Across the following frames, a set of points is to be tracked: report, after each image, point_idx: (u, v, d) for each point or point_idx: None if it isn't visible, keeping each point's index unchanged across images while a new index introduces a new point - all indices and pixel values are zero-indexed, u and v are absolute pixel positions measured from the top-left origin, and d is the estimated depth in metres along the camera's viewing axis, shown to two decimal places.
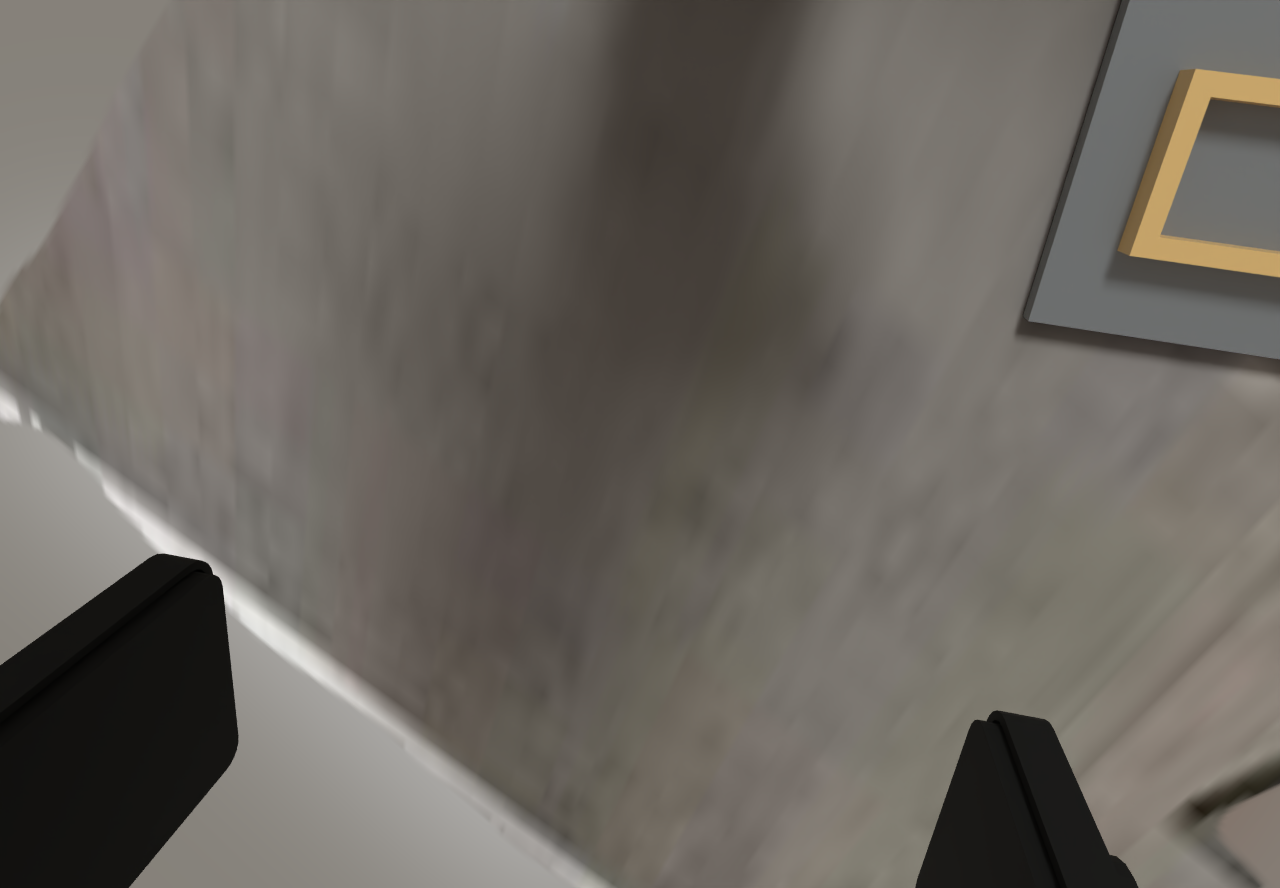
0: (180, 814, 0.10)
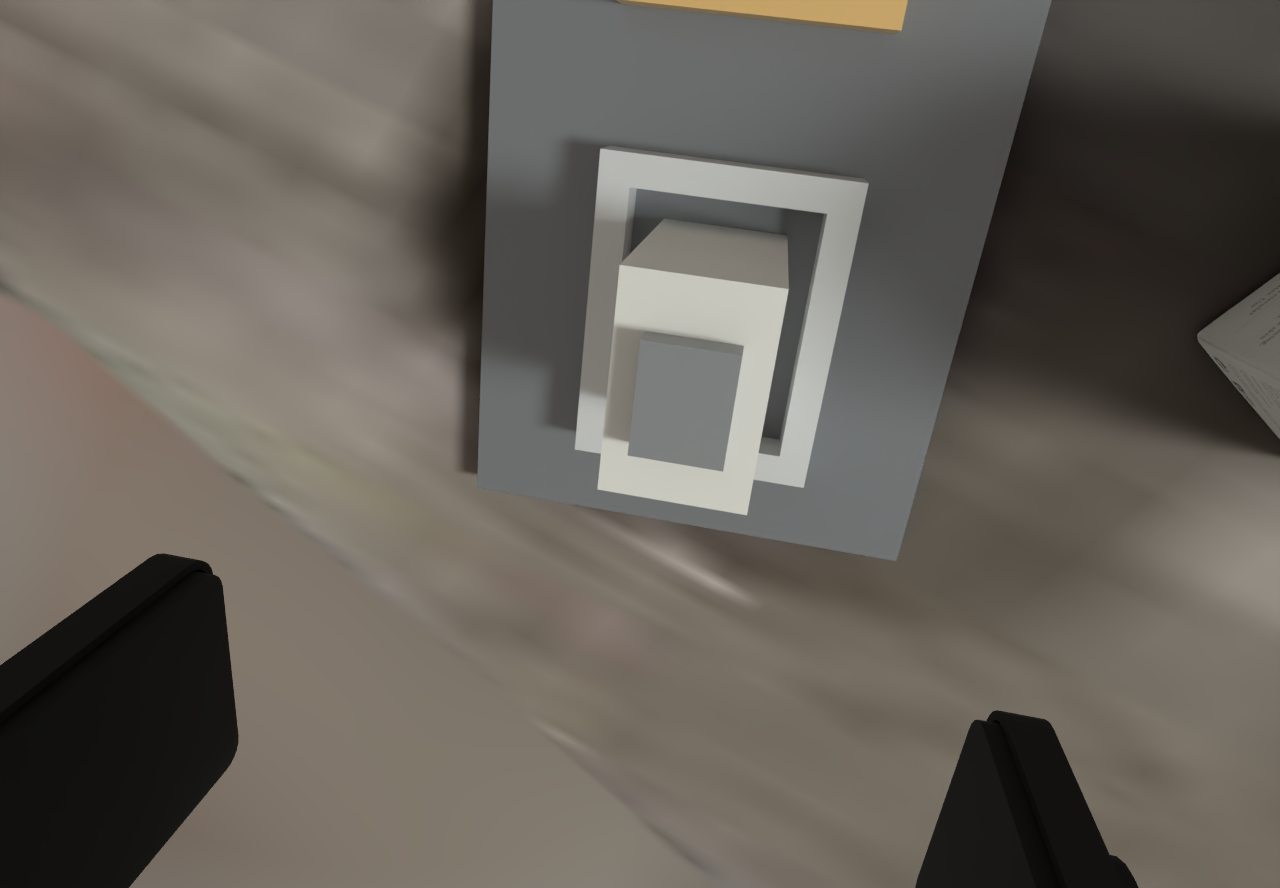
0: (180, 814, 0.10)
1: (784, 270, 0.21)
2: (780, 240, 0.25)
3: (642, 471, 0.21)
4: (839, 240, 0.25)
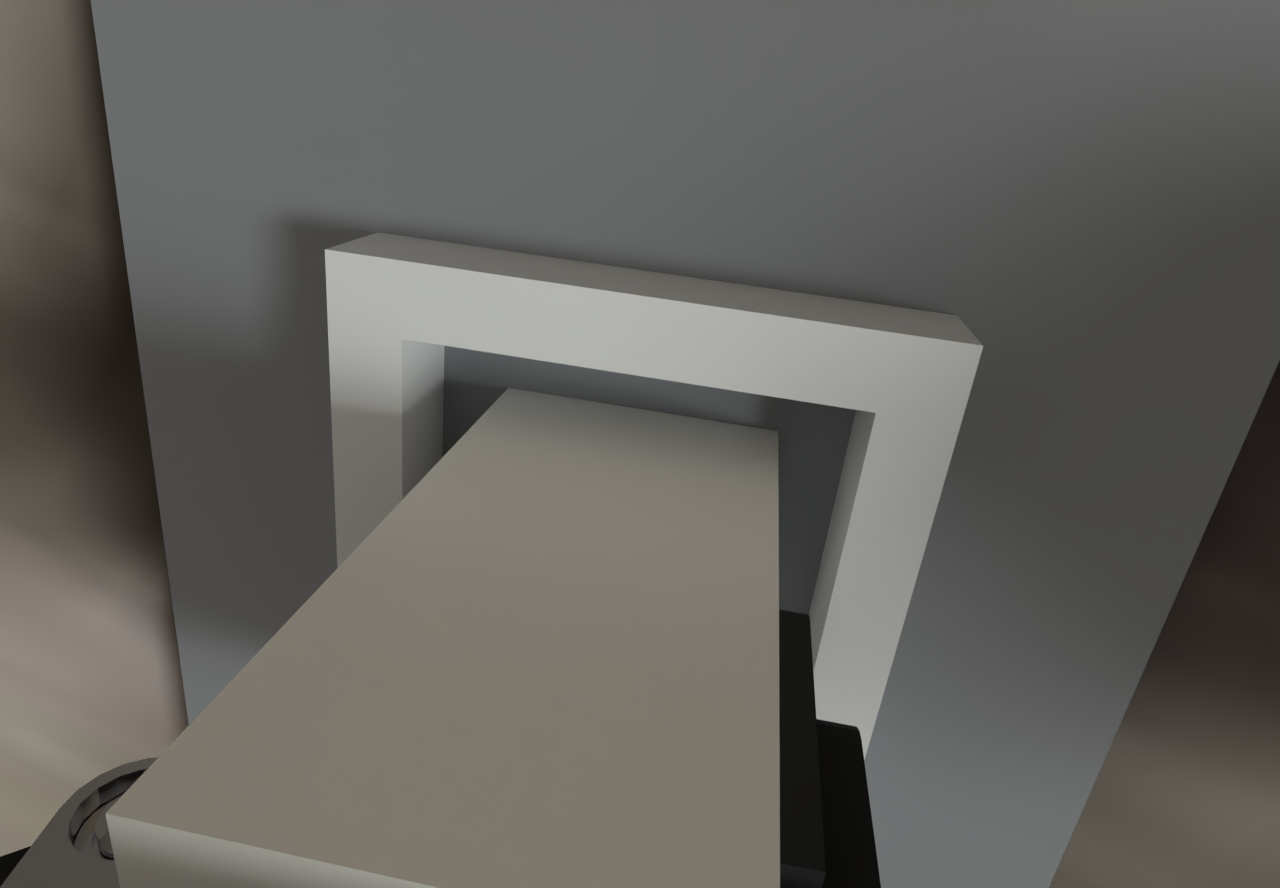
0: None
1: (766, 700, 0.06)
2: (761, 462, 0.11)
3: None
4: (904, 473, 0.10)
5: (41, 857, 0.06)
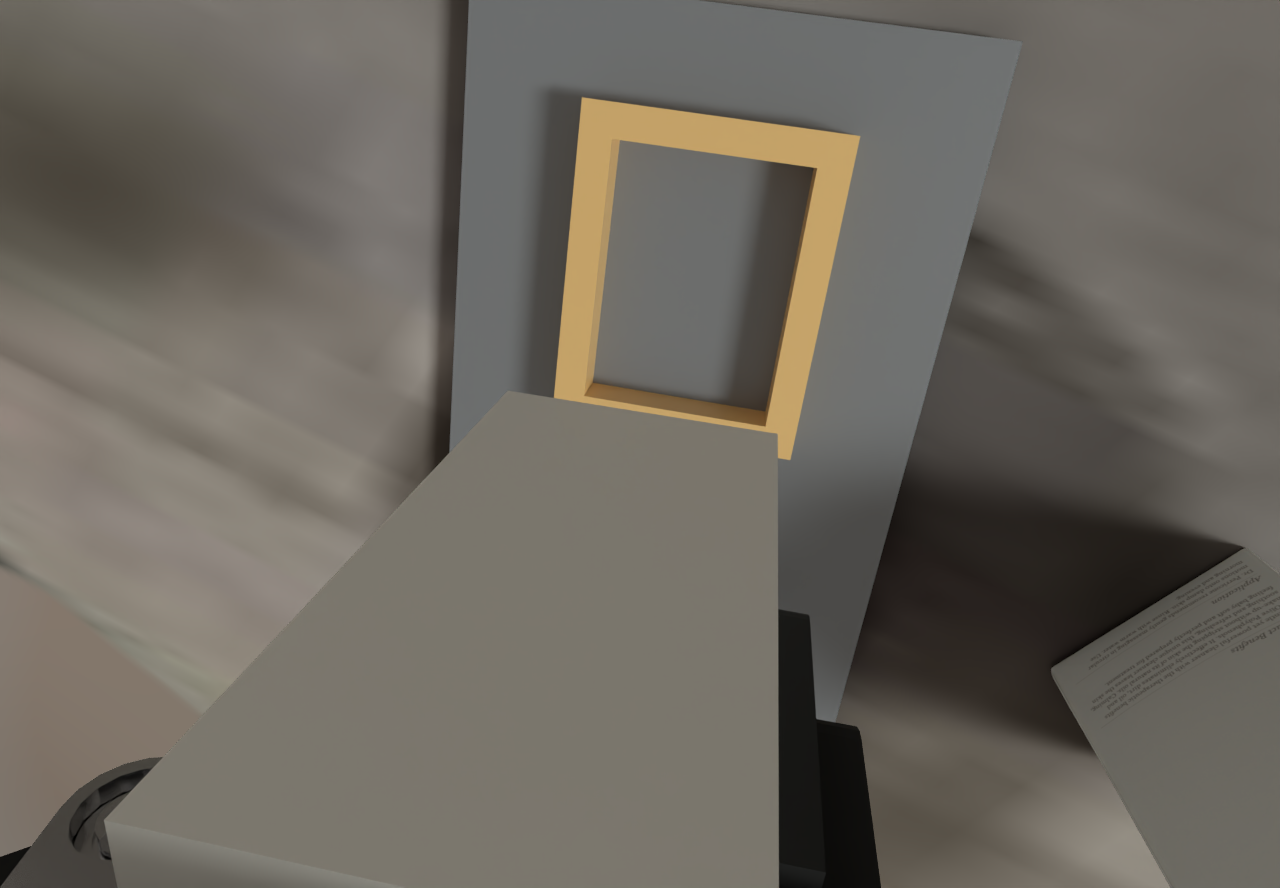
0: None
1: (765, 705, 0.06)
2: (761, 465, 0.11)
3: None
4: None
5: (41, 857, 0.06)
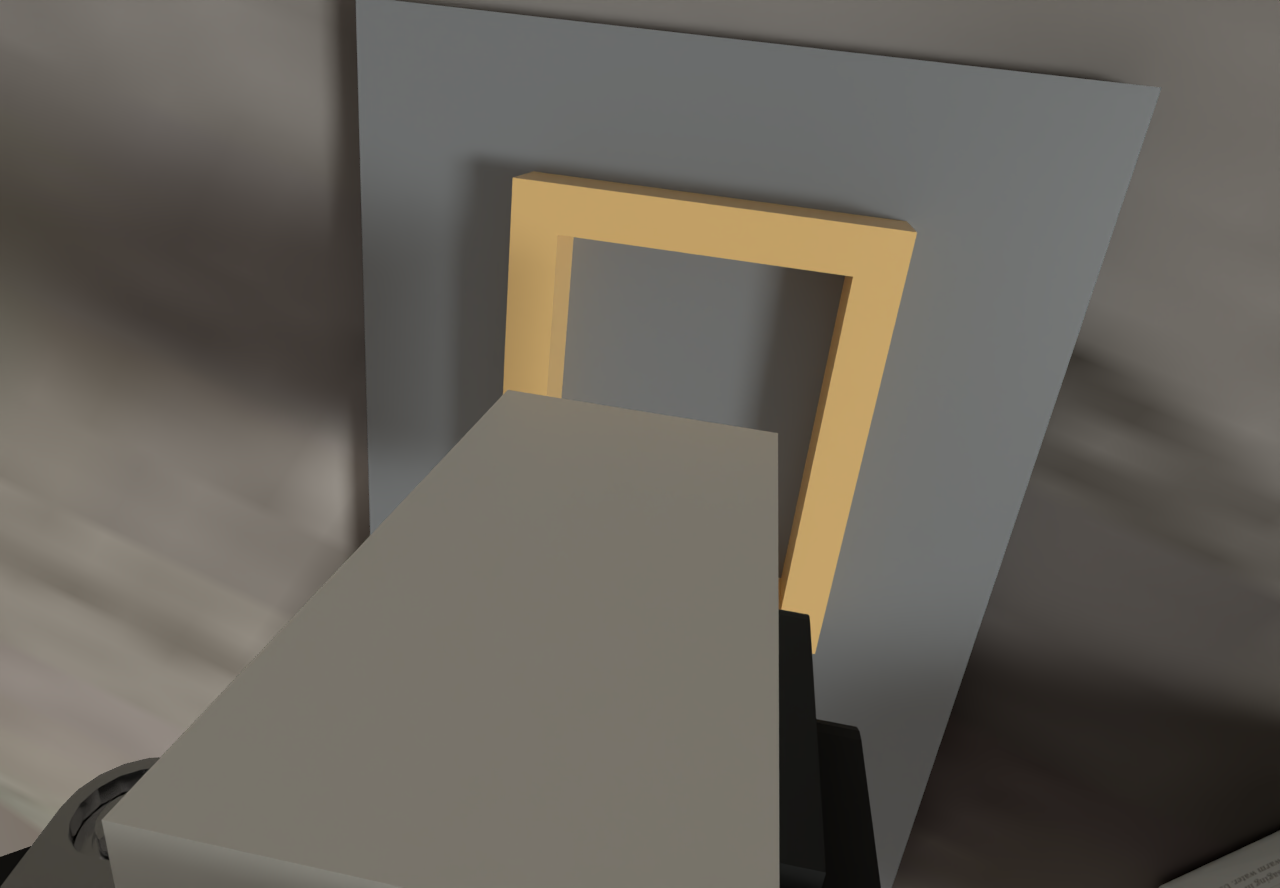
0: None
1: (766, 704, 0.06)
2: (761, 465, 0.11)
3: None
4: None
5: (41, 857, 0.06)
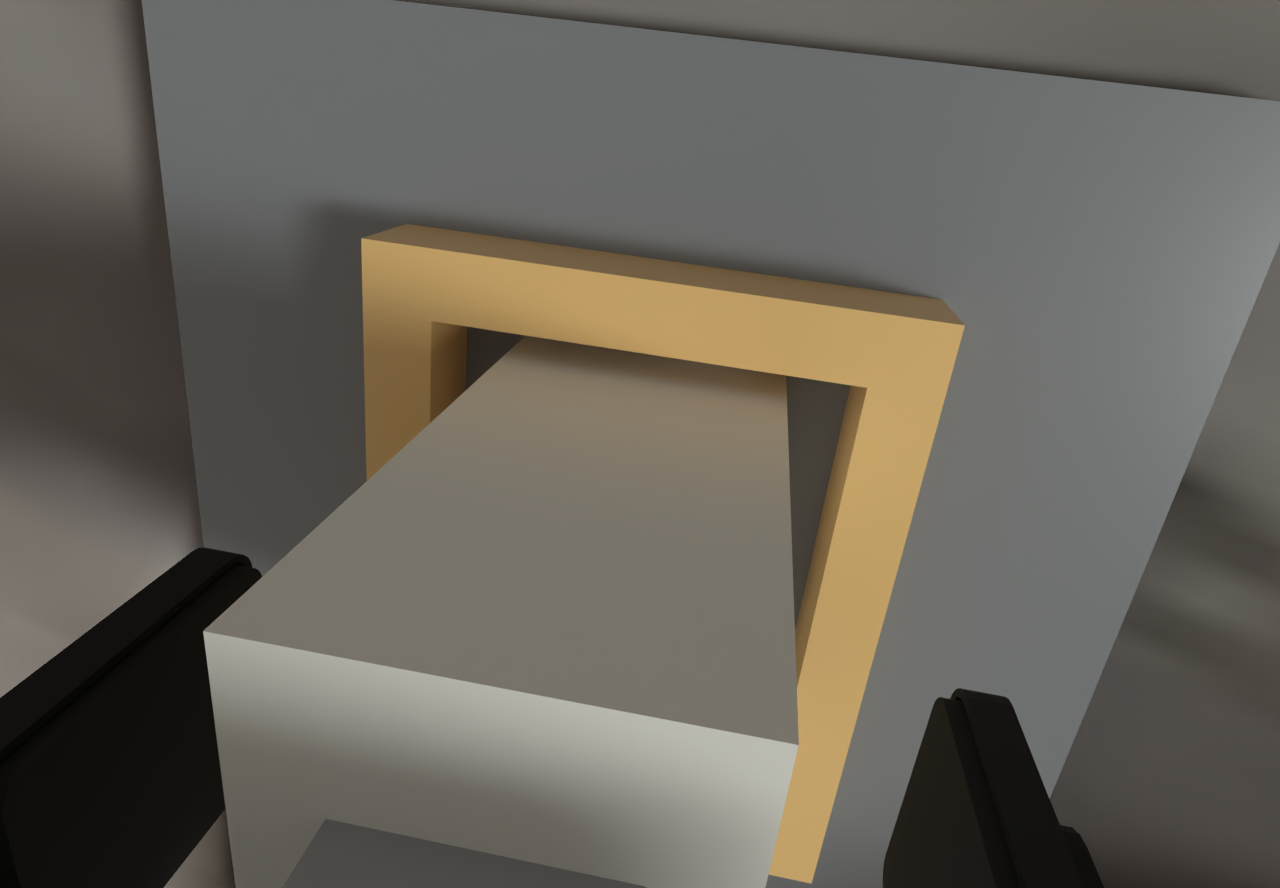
0: (221, 802, 0.10)
1: (781, 566, 0.07)
2: (771, 393, 0.11)
3: None
4: None
5: None
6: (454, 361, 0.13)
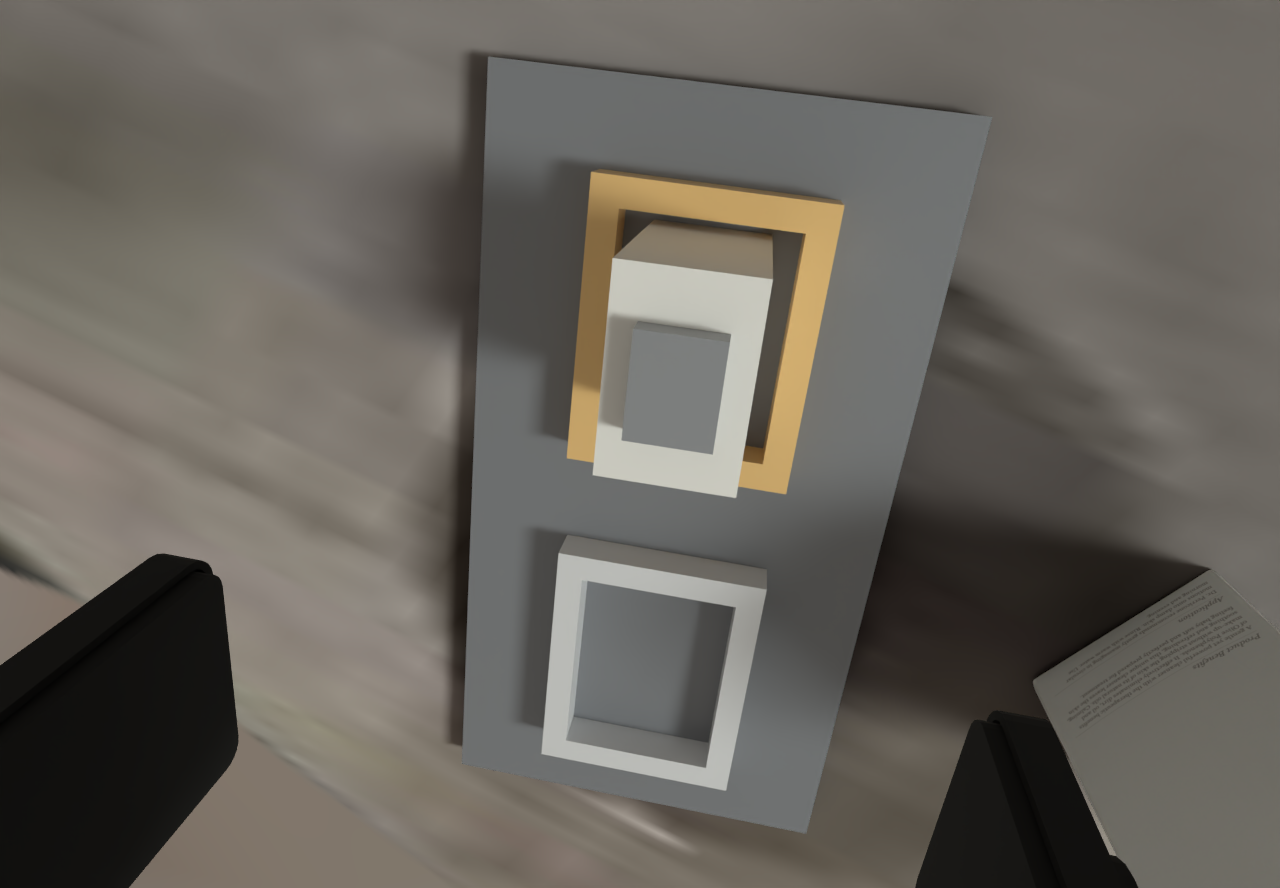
0: (180, 814, 0.10)
1: (769, 264, 0.22)
2: (765, 239, 0.26)
3: (635, 457, 0.22)
4: (746, 625, 0.31)
5: None
6: (620, 232, 0.28)
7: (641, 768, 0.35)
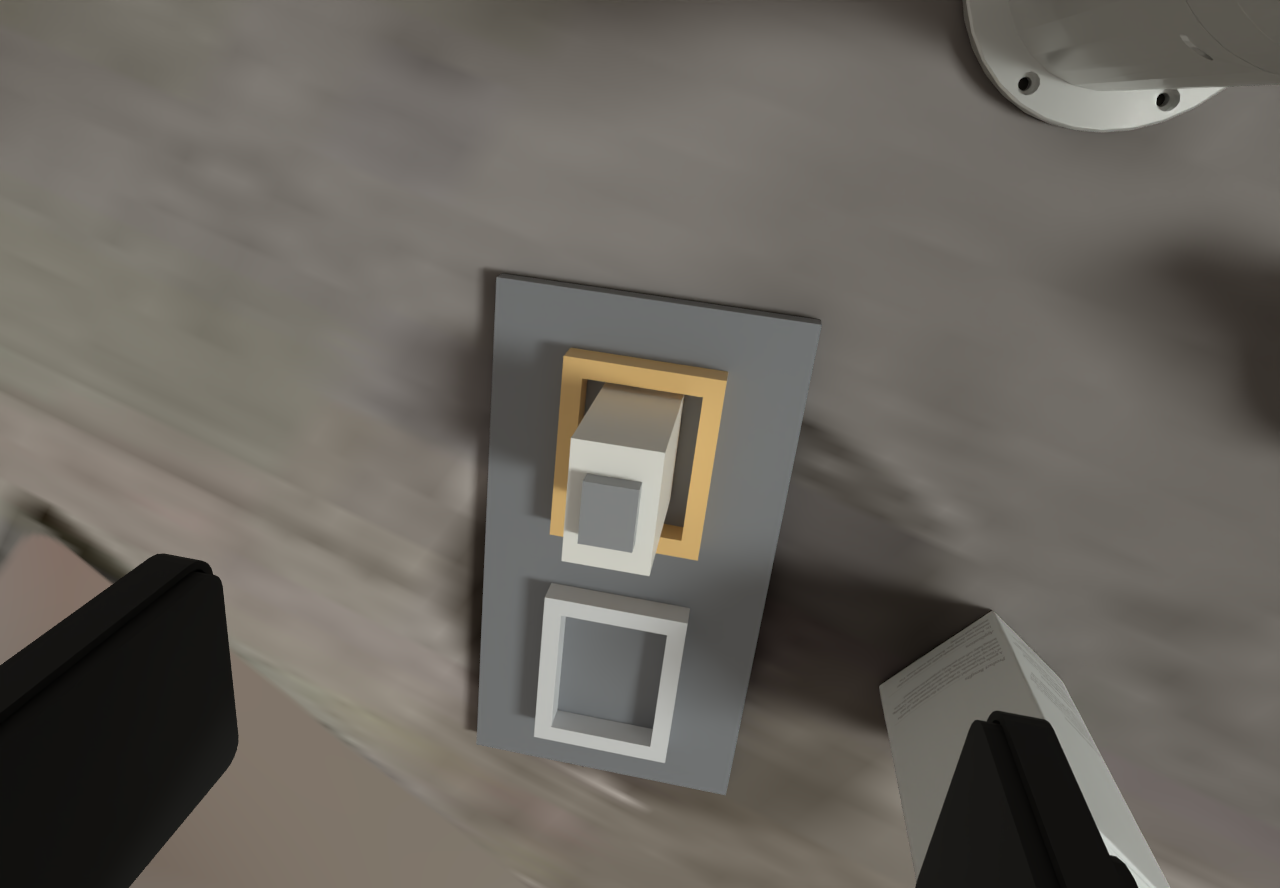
0: (180, 814, 0.10)
1: (669, 433, 0.36)
2: (677, 398, 0.40)
3: (587, 550, 0.36)
4: (674, 647, 0.45)
5: None
6: (584, 388, 0.42)
7: (605, 747, 0.49)
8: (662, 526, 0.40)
